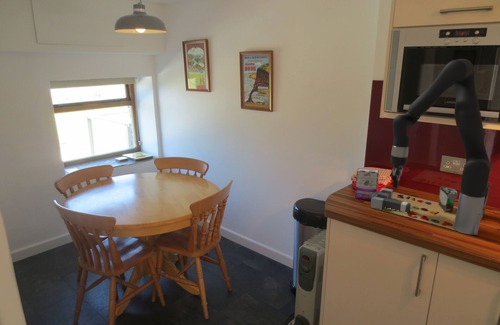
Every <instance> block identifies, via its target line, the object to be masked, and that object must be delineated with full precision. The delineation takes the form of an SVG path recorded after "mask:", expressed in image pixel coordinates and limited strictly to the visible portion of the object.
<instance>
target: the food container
mask: <svg viewBox="0 0 500 325" xmlns="http://www.w3.org/2000/svg"><path fill="white" fill-rule="evenodd" d="M438 198H439V199H438V204H437V205H438V206H439V208H440V209H441V210H442V209H443V210H442V211H443V212H444V213H450V212H453V209H454V207H455V206H454V205H455V202H456V199H457V198H459V195H458V191H457V190H456V189H454V188H451V187H447V186H440V187H439V196H438Z"/></svg>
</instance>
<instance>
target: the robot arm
mask: <svg viewBox="0 0 500 325" xmlns="http://www.w3.org/2000/svg"><path fill="white" fill-rule="evenodd" d="M475 84H476V82H475V69H474V65H473V63H472V62H471V61H470V60H469V59H466V58H458V59H453V60H451V61H449V62H448V63H447V64H446V65H445V66H444V68H443V69H442V70H441V72H439V74H438V76H437V77H436V78H435V79H434V80H433V81H432V83H431V84H430V85H429V86H428V87H427V88H426V89H425V90H424V91H423V92H422V93H421V94H420V95H419V96H418V97H417V98H416V99H415V100H414V101H413V102H412V103H411V104H410V105H409V106H408V109H407V111H406V112H405V113H404V114H398V115H396V116H395V117H394V119H393V121H392V132H393V142H392V147H391V152H390V153H391V154H390V162H389V163H390V164H391V165H393V167H392V170H391V171H392V172H391V173H390V175H391V180H392V188H393V189H398V187H399V182H400V180H401V177H402V175H403V171H404V168H403V167H404V166H406V165H407V164H408V159H409V158H408V156H409V146H410V145H409V144H410V135H409V134H407V129H410V128H412V127H413V126H414V125H416V123H417V122H418V120H420V119H421V117H422V116H423V115H424V114H425V113H427V111H428V110H429V109H431V108H432V107H433V106H434V105H435V103H436V102H437V101H438V100H439V98H440V97H441V96H442V95H443V94H444V92H446V91H447V90H448V89H449V88H452V87H453V86H454V90H455V102H454V104H455V105H454V122H455V126H456V129H457V133H458V135H459V138H460V139H461V143H462V144H463V147H464V152H465V164H464V166H463V170H462V174H461V181H460V190H459V195H458V201H457V206H456V207H457V208H456V212H455V217H454V224H453V229H454V230H455V231H457V232H459V233H462V234H465V235H470V236H471V235H475V236H478V234H479V230H480V225H481V224H480V223H481V220H482V219H481V215H482V209H483V204H484V199H485V195H486V189H487V183H489V177H490V173H491V170H492V164H491V162H490V159H489V156H488V153H487V149H486V146H485V137H484V136H485V135H484V125H483V119H482V113H481V108H480V105H479V104H480V103H479V98H478V96H477V92H476V85H475Z"/></svg>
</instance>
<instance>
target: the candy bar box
mask: <svg viewBox="0 0 500 325" xmlns="http://www.w3.org/2000/svg"><path fill="white" fill-rule="evenodd" d="M379 176H380V175H379V169H369V168H360V167H359V168H357V170H356V181H355V183H356V184H355V193H354V194H355V195H354V198H355V199H359V200H365V201H366V200H367V201H371V196H372V195H373V194H374V193H375V192H376V191H378V186H379V185H378V184H379Z"/></svg>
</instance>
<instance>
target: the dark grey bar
mask: <svg viewBox="0 0 500 325" xmlns="http://www.w3.org/2000/svg"><path fill="white" fill-rule="evenodd" d="M379 198H383V199H384V201H383V207H386V208H385V209H387V208H391V209H390V210H392V209H395V210H394V211H396V210H399V211H398V212H400V211H402V212H401V213H404V212H407V213H406V214H409V213H410V211H411V207H412V206H411V205H412V204H411V203H410V202H407V201H401V200H396V199H393V198H392V199H388V198H384V197H379ZM408 212H409V213H408Z"/></svg>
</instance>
